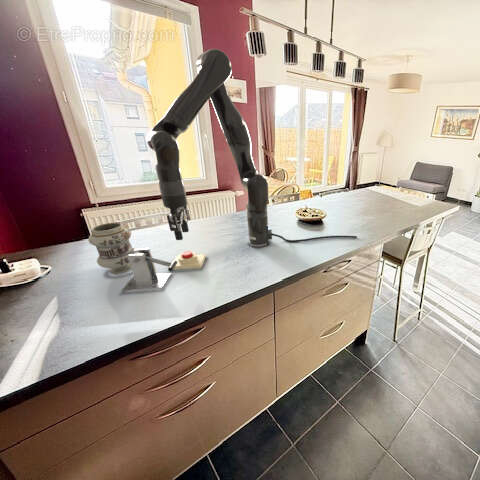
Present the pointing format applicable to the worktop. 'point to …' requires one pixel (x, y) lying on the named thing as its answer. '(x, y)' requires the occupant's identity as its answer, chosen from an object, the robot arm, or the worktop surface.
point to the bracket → (144, 272)
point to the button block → (190, 261)
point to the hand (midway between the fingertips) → (182, 235)
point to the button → (187, 254)
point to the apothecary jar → (112, 246)
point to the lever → (159, 261)
